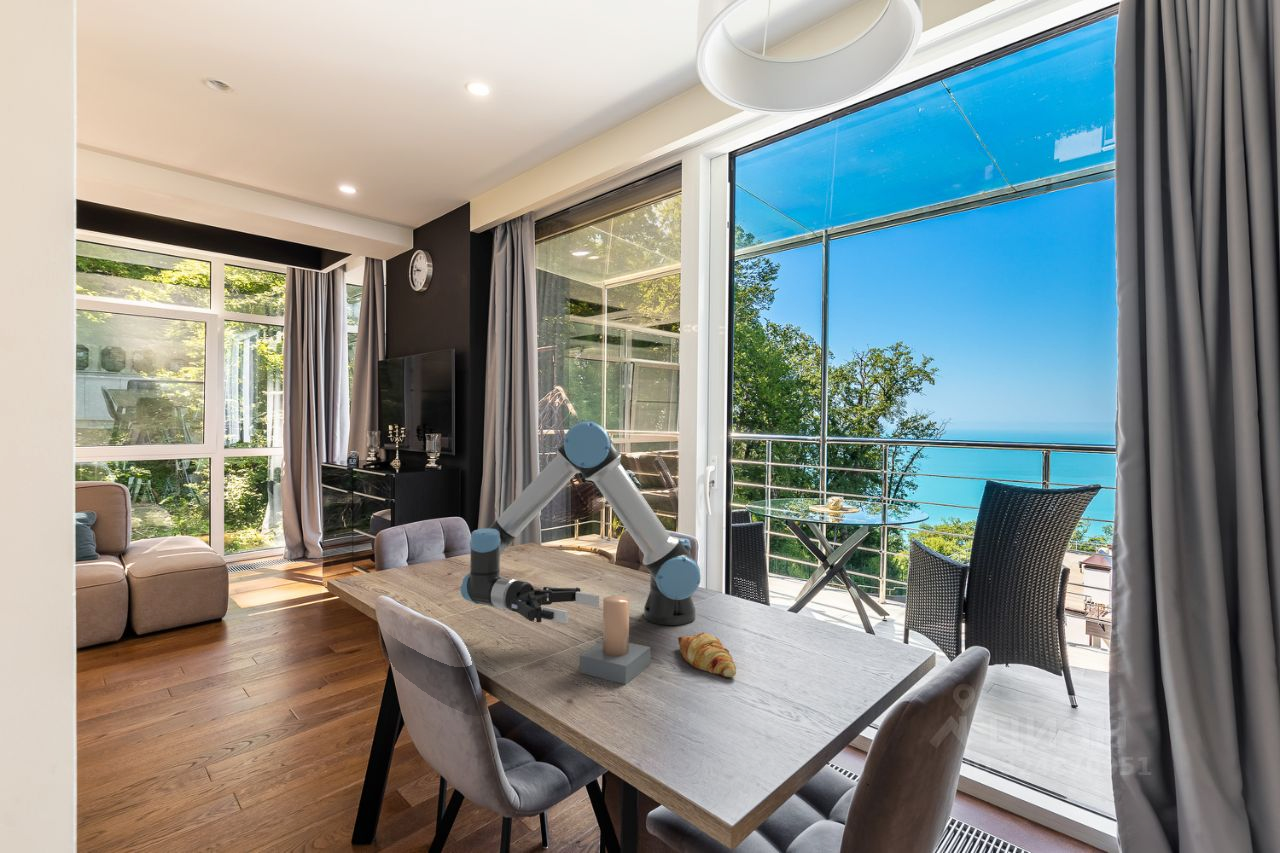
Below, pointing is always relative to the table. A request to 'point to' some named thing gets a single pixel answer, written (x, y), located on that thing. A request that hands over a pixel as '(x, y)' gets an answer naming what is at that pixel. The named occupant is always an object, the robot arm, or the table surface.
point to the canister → (615, 625)
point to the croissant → (707, 654)
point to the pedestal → (615, 663)
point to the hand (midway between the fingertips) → (583, 608)
